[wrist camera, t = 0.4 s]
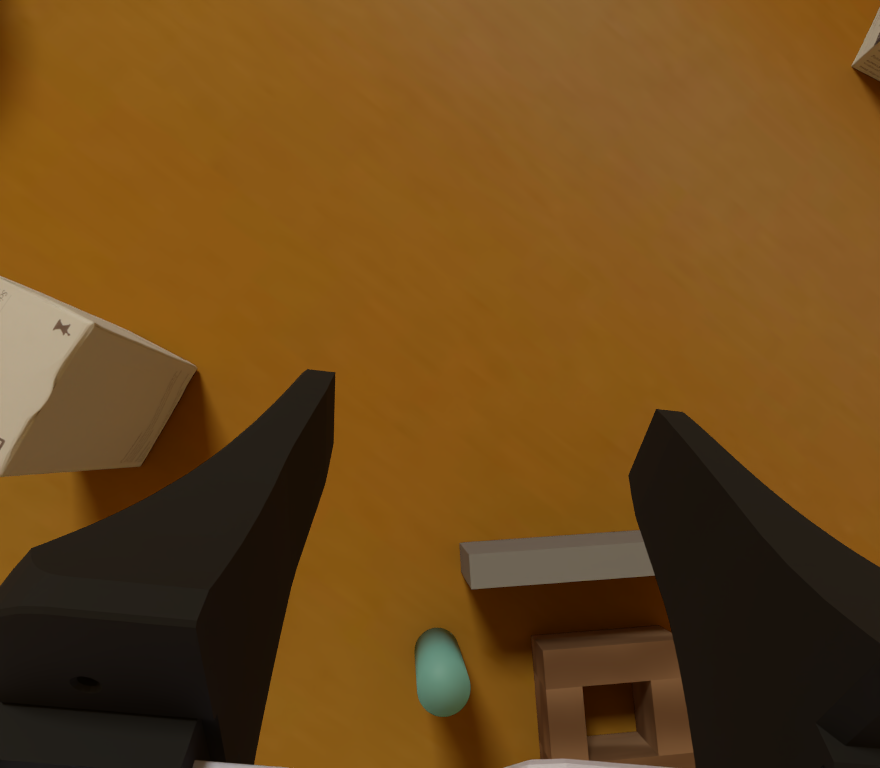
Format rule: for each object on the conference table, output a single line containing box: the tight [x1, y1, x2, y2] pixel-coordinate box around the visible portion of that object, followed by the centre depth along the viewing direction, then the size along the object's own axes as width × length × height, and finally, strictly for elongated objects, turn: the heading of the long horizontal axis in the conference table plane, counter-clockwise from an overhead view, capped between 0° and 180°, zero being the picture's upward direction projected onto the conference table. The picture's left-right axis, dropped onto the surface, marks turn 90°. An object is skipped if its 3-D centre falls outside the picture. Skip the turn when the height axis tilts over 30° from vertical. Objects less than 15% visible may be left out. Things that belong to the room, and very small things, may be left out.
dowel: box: [415, 628, 470, 717], centre depth 37 cm, size 3×3×7 cm
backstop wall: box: [460, 530, 655, 589], centre depth 39 cm, size 2×20×6 cm, turn 94°
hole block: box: [531, 625, 696, 768], centre depth 39 cm, size 9×9×4 cm
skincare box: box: [0, 276, 197, 477], centre depth 34 cm, size 8×6×15 cm
